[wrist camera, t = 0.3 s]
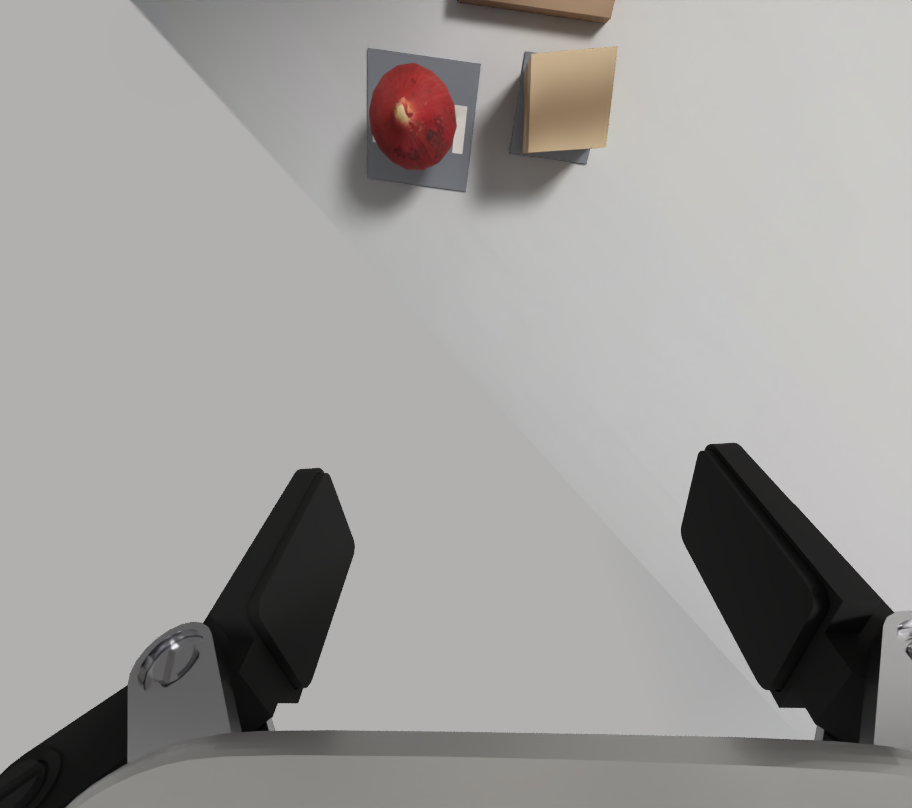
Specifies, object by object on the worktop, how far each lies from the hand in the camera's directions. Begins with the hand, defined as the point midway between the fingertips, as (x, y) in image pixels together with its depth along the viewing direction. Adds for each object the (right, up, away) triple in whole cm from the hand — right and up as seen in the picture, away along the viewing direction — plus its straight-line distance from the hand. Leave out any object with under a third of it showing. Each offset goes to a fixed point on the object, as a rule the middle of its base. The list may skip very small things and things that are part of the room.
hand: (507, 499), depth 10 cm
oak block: (+6, +24, +19) cm, 31 cm away
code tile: (-4, +24, +20) cm, 31 cm away
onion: (-4, +24, +20) cm, 31 cm away
